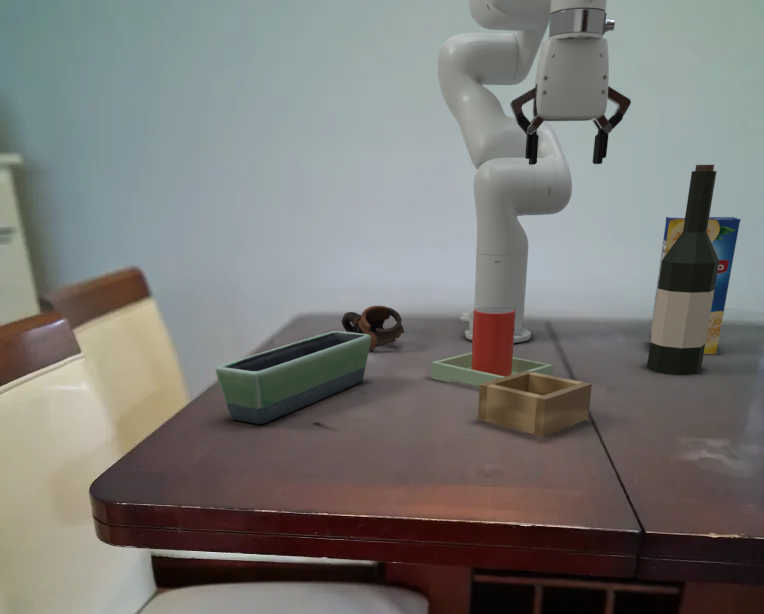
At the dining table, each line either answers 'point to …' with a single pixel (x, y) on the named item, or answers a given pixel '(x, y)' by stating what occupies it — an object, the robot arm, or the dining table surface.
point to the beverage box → (724, 244)
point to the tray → (462, 371)
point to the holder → (534, 402)
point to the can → (493, 340)
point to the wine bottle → (686, 286)
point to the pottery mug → (374, 325)
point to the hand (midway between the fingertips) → (564, 164)
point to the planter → (293, 375)
